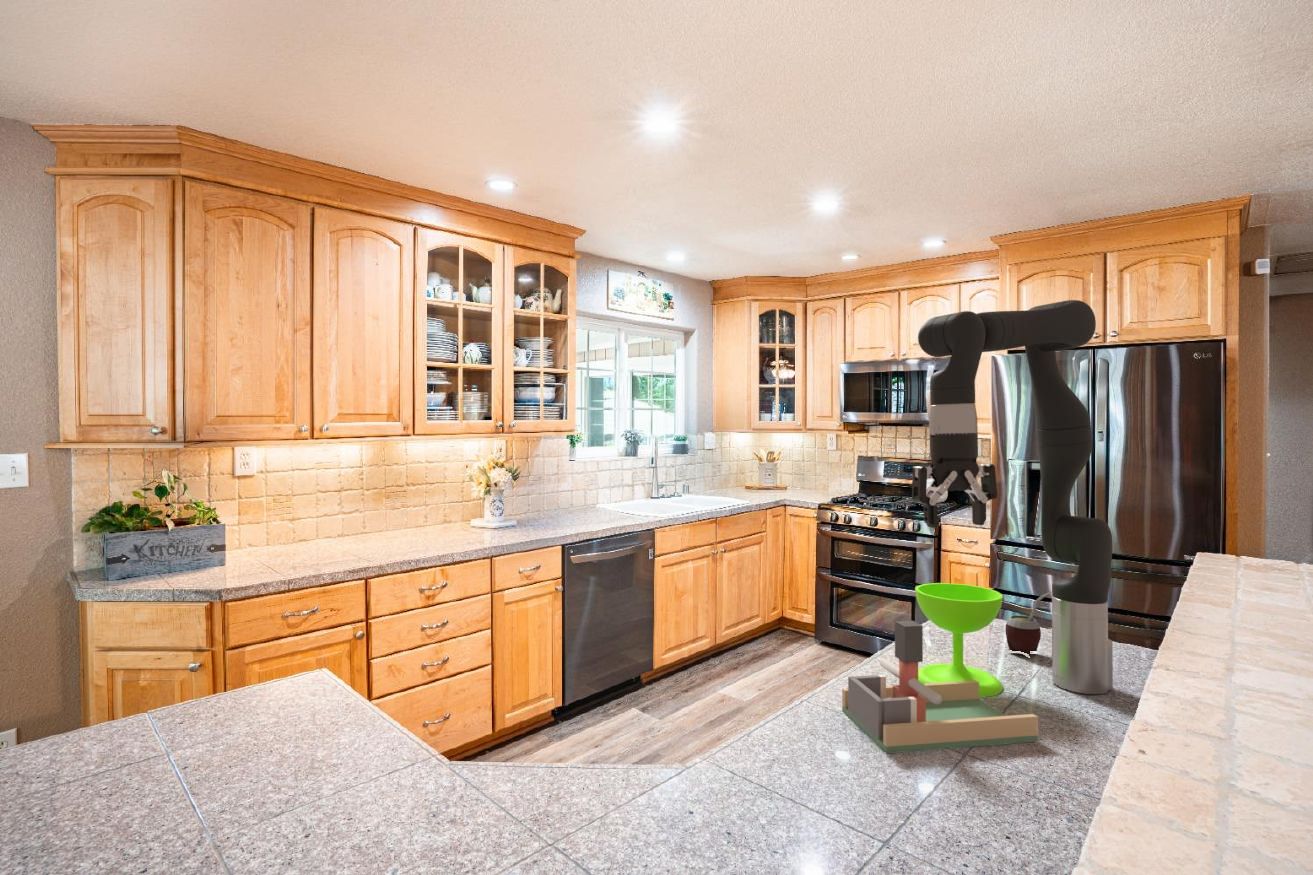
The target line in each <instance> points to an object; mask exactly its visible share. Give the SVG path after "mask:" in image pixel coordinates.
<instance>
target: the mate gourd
mask: <svg viewBox="0 0 1313 875" xmlns="http://www.w3.org/2000/svg"><path fill="white" fill-rule="evenodd" d="M1050 594H1052V591H1049V592H1047V593H1044V594H1042V595H1041V596H1038V598H1037V599H1036V600H1035V602H1034V606H1033V608H1032V611H1031V613H1030V615H1029V616H1026V615H1025V616H1024V615H1011V616H1010V617H1009V618H1008V619H1007V620H1006V622H1005V623H1006V624H1005V630H1004V631H1005V636H1006V643H1007V647H1008V651H1010V650H1012V651H1021V652H1024V653H1027V654H1030V651H1037V652H1038V647H1039V644H1040V642H1041V638H1042V637H1041V636H1042V633H1041V632H1042V631H1041V626H1040V623H1039V622H1038V621H1037V619H1035V618H1034V615H1035V613H1036V611H1037V608H1038V606H1039V605H1040V603H1041V600H1043V599H1044V598H1046V597H1048V596H1049V595H1050Z"/></svg>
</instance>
